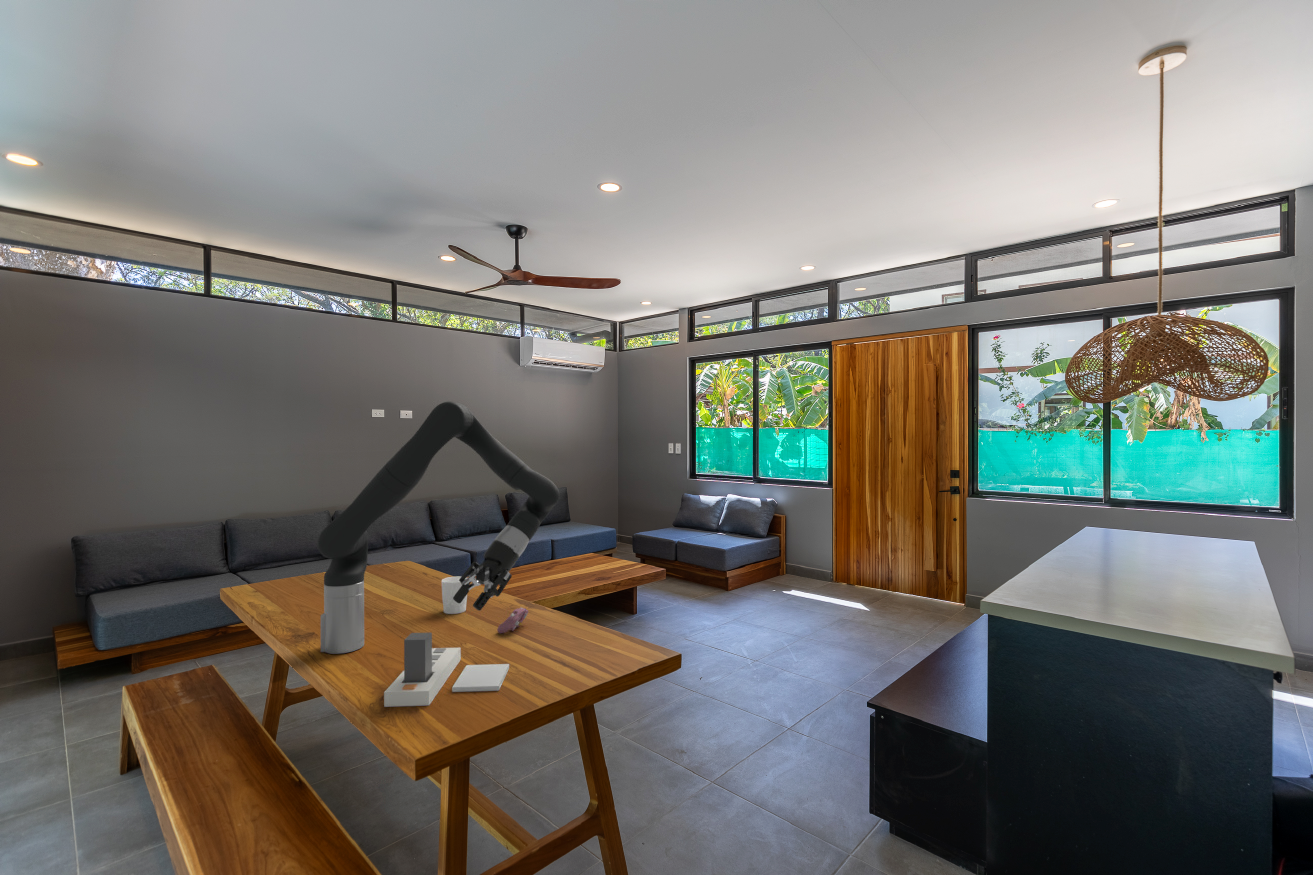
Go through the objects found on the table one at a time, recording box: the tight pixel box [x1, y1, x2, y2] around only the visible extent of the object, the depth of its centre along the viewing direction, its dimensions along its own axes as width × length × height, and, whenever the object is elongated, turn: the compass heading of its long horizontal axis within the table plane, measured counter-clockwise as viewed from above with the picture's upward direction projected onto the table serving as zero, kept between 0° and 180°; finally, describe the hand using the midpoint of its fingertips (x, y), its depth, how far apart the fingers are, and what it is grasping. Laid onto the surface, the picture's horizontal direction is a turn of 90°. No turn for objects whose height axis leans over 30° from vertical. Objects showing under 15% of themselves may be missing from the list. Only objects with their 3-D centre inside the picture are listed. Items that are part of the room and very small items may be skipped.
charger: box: [403, 632, 433, 683], centre depth 126 cm, size 4×4×12 cm
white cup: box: [441, 575, 468, 615], centre depth 182 cm, size 8×8×10 cm
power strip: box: [383, 647, 462, 708], centre depth 131 cm, size 9×24×3 cm, turn 4°
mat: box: [451, 663, 510, 693], centre depth 131 cm, size 10×12×1 cm
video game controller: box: [497, 606, 529, 634], centre depth 165 cm, size 10×5×7 cm, turn 169°
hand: (465, 604), depth 134 cm, fingers open, 8 cm apart
